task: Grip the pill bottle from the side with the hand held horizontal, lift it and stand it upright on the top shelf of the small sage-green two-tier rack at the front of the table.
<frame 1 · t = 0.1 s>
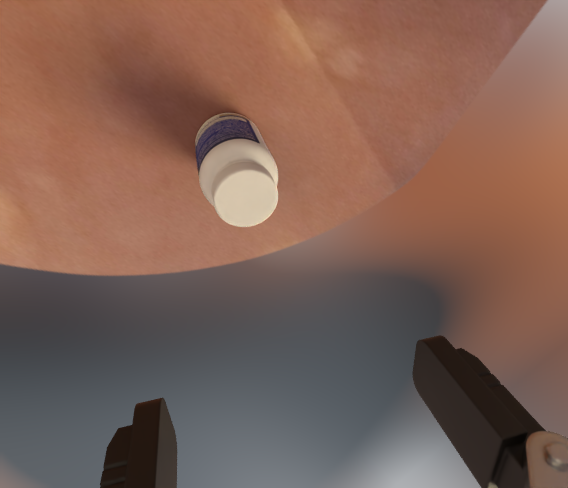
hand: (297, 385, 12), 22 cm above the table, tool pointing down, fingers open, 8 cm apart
pill bottle: (228, 144, 30), on the table
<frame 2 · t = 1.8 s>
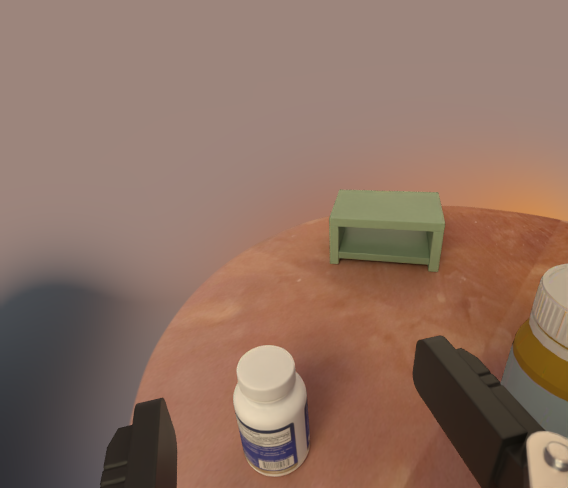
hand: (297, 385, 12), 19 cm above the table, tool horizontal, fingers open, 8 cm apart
bottle: (537, 461, 28), on the table
pill bottle: (276, 446, 30), on the table
rack: (383, 249, 55), on the table
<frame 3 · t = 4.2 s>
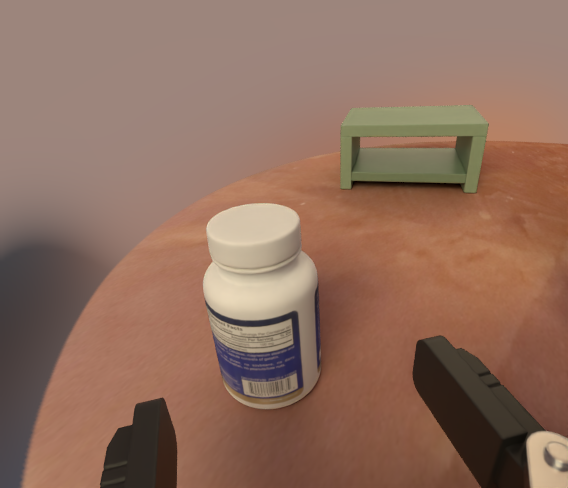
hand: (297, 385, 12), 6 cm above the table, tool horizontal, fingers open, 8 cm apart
pill bottle: (271, 373, 20), on the table
rack: (405, 175, 45), on the table
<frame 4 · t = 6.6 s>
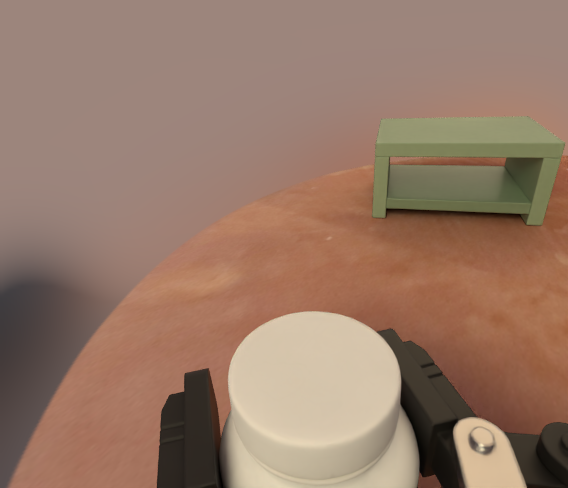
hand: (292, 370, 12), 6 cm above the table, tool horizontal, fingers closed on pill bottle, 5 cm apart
rack: (446, 200, 38), on the table
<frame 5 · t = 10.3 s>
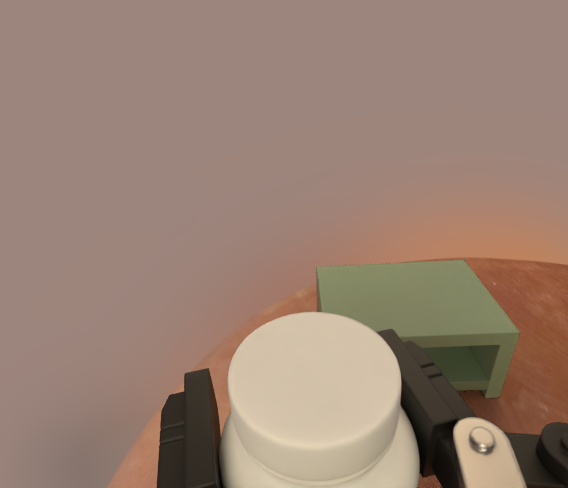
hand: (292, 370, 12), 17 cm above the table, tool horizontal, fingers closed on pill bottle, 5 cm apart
rack: (396, 355, 35), on the table
when the fingers open (13 cm above the table, at t = 14.5 s): pill bottle stays where it is, resting on rack.
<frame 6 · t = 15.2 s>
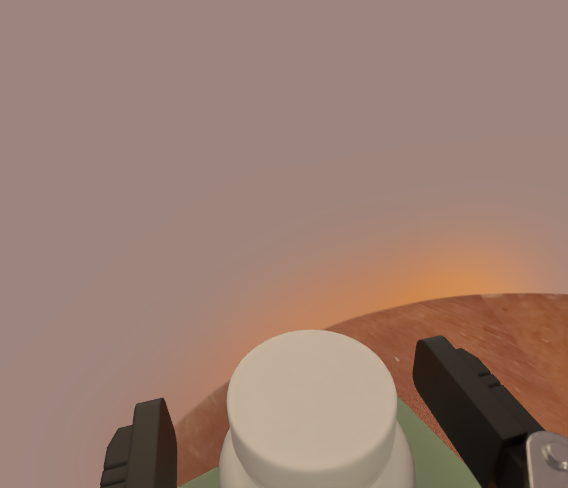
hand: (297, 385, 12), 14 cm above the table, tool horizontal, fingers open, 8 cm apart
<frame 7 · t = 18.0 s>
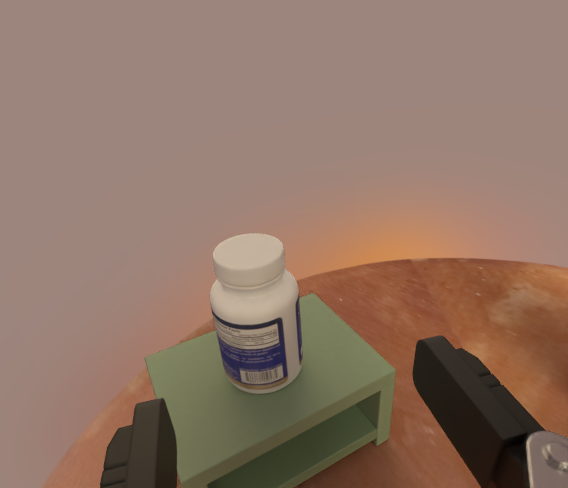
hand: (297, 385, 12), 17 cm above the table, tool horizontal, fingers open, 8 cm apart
pill bottle: (263, 366, 26), point 7 cm above the table, touching rack
rack: (272, 430, 29), on the table
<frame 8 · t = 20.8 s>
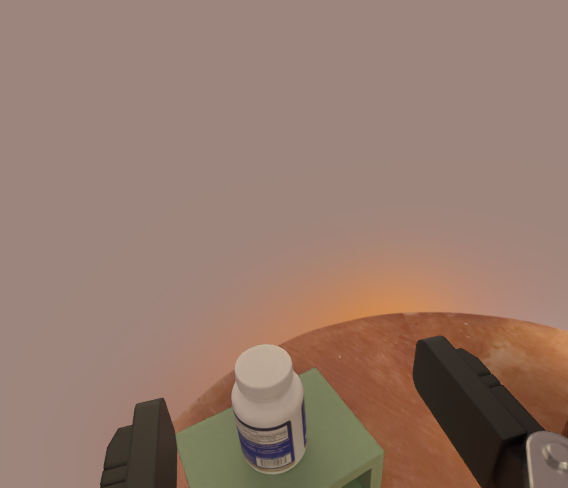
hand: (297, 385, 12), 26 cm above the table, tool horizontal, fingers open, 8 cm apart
pill bottle: (274, 445, 31), point 7 cm above the table, touching rack
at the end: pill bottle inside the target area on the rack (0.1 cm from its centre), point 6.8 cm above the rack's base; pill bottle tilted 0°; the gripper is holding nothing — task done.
